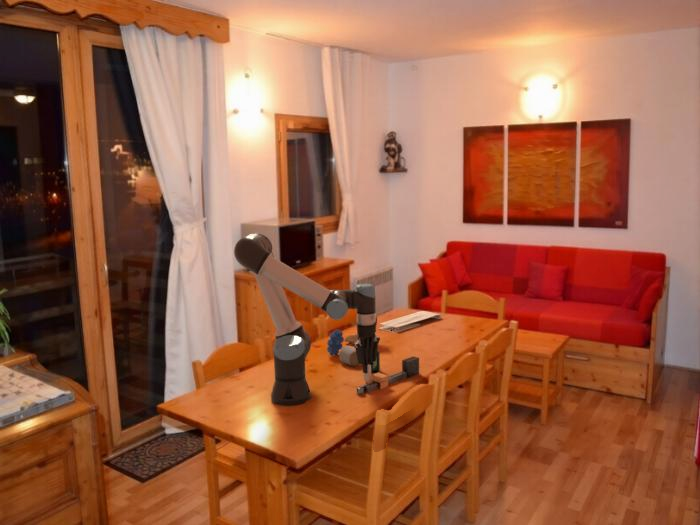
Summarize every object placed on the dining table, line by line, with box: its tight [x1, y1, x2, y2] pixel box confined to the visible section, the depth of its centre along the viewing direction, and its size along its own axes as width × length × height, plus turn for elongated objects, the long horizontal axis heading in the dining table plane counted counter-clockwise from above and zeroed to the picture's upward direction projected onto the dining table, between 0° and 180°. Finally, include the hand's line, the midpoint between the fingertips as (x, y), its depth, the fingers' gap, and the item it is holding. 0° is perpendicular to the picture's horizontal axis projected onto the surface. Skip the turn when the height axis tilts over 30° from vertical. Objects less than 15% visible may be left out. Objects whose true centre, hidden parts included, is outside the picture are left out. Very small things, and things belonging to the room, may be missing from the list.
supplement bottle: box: [371, 349, 381, 374], centre depth 257 cm, size 7×7×12 cm
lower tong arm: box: [365, 356, 420, 394], centre depth 243 cm, size 30×1×7 cm, turn 133°
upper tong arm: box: [356, 356, 417, 396], centre depth 242 cm, size 34×3×7 cm, turn 133°
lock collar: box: [364, 372, 389, 390], centre depth 241 cm, size 4×9×4 cm, turn 43°
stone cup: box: [343, 316, 378, 344], centre depth 298 cm, size 15×12×15 cm
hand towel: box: [378, 310, 442, 334], centre depth 333 cm, size 12×4×40 cm
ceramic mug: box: [338, 345, 360, 367], centre depth 268 cm, size 11×8×8 cm
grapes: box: [326, 329, 345, 357], centre depth 281 cm, size 12×7×12 cm, turn 144°
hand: (367, 379), depth 241 cm, fingers closed
